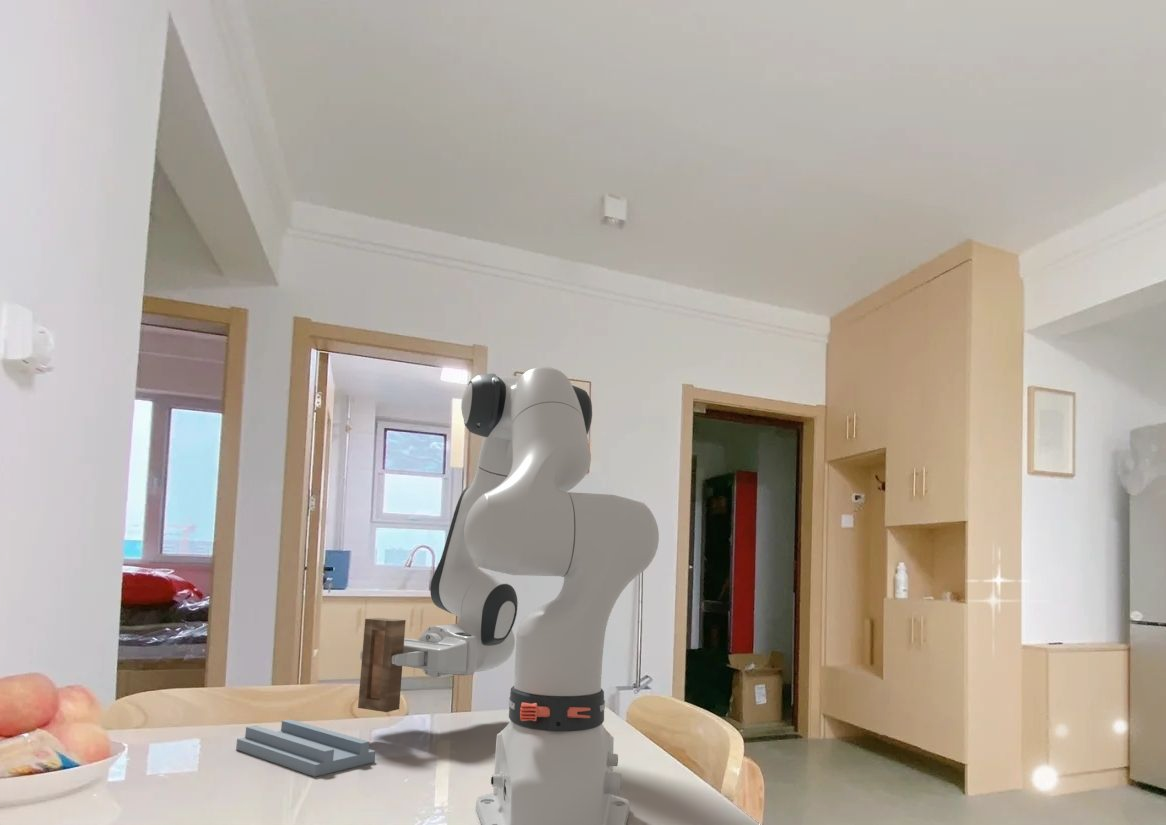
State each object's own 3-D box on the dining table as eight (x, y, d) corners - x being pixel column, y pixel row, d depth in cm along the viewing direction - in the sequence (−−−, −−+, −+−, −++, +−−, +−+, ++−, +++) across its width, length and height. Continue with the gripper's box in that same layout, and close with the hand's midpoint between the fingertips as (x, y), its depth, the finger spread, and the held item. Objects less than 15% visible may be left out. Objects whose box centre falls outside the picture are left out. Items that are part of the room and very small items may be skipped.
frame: (399, 709, 122) (405, 620, 125) (386, 712, 119) (393, 621, 122) (370, 705, 124) (377, 617, 127) (357, 708, 122) (365, 618, 125)
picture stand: (374, 761, 109) (376, 740, 110) (314, 776, 101) (316, 753, 102) (295, 737, 121) (297, 718, 121) (236, 749, 113) (238, 728, 114)
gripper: (403, 628, 140) (340, 632, 129) (483, 637, 128) (421, 642, 117) (401, 663, 139) (337, 670, 128) (481, 675, 127) (418, 685, 116)
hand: (378, 657), depth 123 cm, fingers closed on frame, 6 cm apart
